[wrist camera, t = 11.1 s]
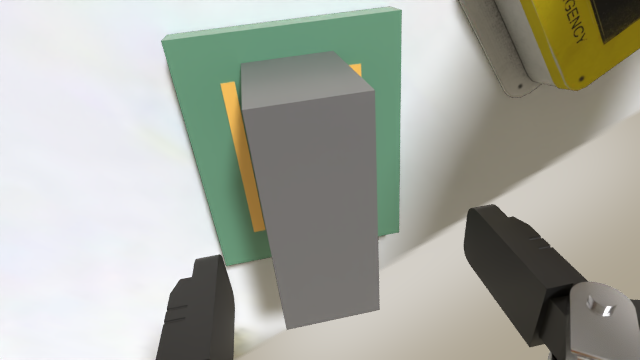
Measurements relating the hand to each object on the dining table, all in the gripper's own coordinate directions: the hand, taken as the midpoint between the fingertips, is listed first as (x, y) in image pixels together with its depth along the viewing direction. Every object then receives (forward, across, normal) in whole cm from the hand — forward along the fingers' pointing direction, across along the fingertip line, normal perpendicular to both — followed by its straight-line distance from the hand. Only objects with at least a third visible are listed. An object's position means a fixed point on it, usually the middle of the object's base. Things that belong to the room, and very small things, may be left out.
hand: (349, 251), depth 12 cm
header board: (+9, +1, 0) cm, 9 cm away
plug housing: (+8, +1, 0) cm, 8 cm away
